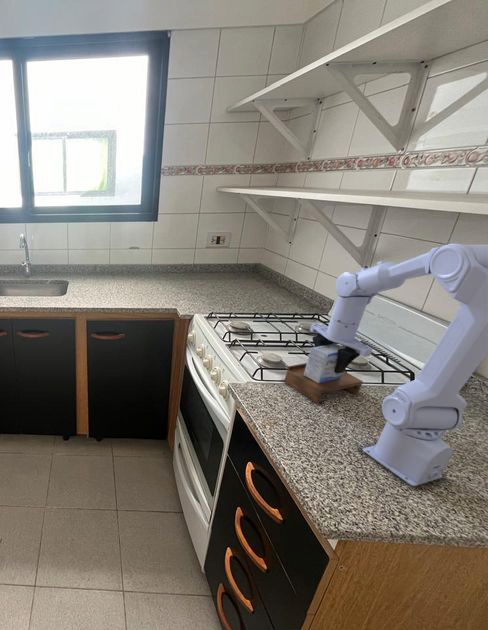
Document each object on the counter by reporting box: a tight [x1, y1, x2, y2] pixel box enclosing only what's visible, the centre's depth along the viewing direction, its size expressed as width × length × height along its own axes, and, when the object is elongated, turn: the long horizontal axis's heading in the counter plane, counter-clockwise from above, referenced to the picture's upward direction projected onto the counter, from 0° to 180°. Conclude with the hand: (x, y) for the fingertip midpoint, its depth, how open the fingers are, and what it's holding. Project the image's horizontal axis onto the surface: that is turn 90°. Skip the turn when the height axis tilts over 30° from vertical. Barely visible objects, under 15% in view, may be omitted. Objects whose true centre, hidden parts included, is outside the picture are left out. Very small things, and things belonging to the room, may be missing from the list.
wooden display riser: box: [283, 362, 364, 404], centre depth 93 cm, size 10×14×5 cm
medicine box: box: [304, 342, 345, 384], centre depth 89 cm, size 8×4×9 cm, turn 107°
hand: (329, 366), depth 90 cm, fingers open, 5 cm apart
